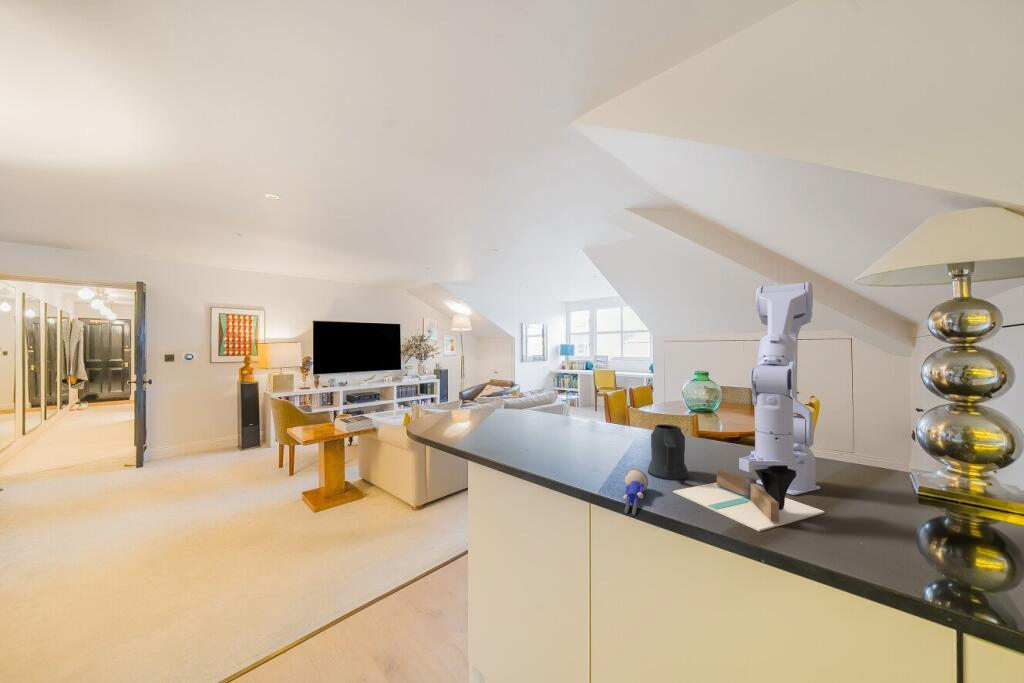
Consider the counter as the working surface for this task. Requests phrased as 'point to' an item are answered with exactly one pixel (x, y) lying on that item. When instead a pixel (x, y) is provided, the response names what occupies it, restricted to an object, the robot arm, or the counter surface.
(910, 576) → the counter surface
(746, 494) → the post and fixed rail
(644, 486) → the toy
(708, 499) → the mat
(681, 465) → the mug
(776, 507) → the swing panel
